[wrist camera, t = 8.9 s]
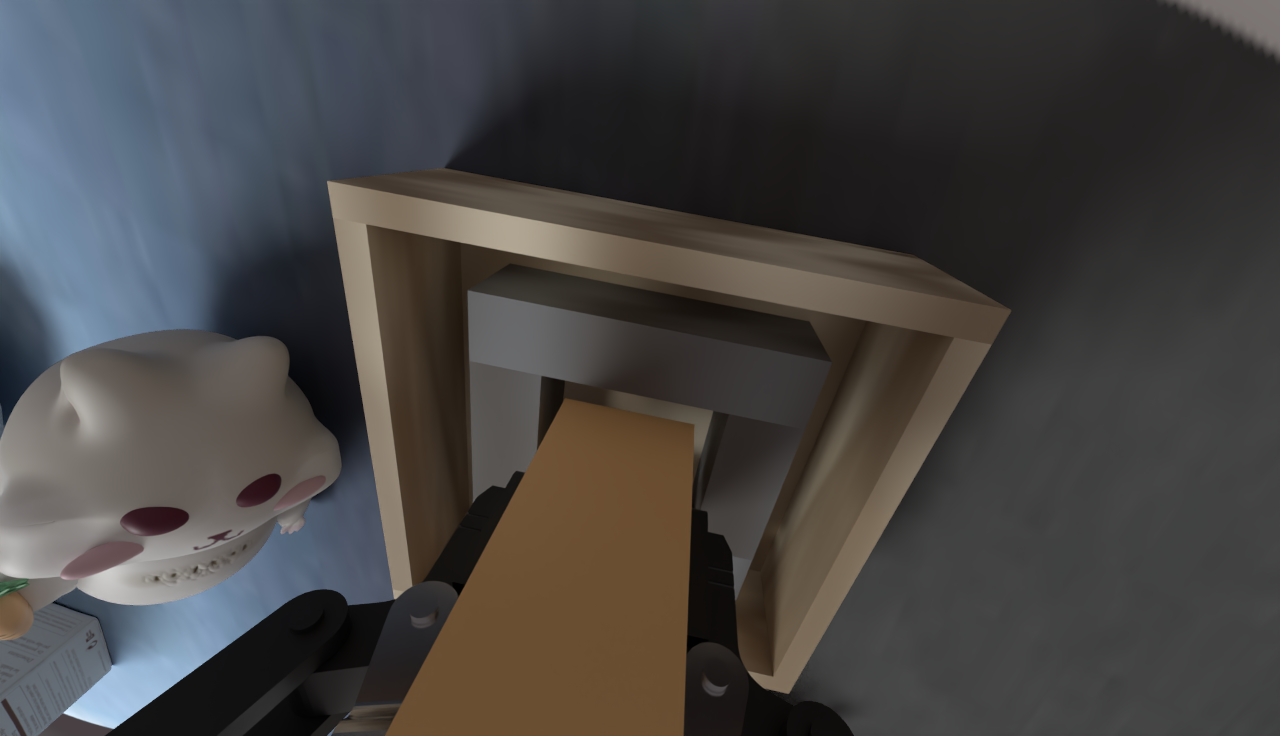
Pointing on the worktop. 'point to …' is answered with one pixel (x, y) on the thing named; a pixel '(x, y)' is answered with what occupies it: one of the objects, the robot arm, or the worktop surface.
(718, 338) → the walled box
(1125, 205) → the worktop surface
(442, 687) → the orange rectangular block
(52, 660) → the supplement box
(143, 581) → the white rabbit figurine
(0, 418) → the robot toy
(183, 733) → the robot arm
